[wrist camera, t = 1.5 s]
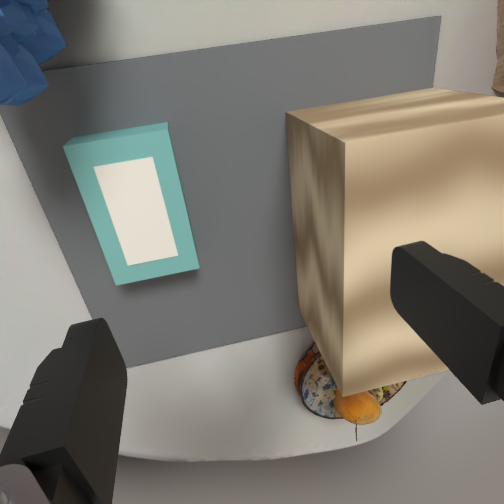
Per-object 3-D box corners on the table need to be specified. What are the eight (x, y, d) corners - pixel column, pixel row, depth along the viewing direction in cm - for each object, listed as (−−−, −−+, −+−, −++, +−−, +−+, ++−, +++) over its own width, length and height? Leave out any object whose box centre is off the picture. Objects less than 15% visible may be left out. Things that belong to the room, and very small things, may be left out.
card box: (73, 137, 21) (62, 146, 19) (168, 121, 21) (167, 129, 19) (120, 266, 25) (115, 286, 23) (197, 251, 26) (199, 268, 24)
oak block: (285, 111, 23) (345, 142, 15) (432, 87, 24) (559, 104, 16) (299, 310, 31) (342, 397, 23) (408, 285, 32) (484, 360, 24)
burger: (380, 403, 40) (420, 470, 34) (281, 407, 37) (304, 481, 31) (422, 319, 35) (479, 378, 29) (311, 315, 32) (346, 381, 26)
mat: (-13, 78, 19) (-16, 79, 19) (438, 16, 22) (441, 15, 22) (115, 367, 30) (115, 370, 30) (404, 301, 33) (406, 303, 33)
